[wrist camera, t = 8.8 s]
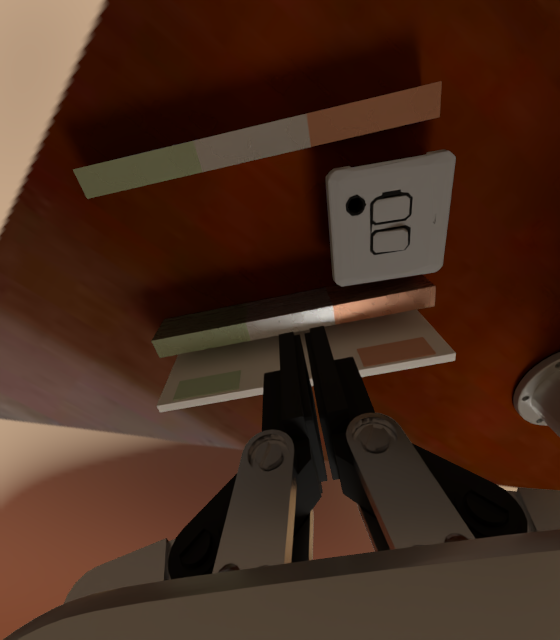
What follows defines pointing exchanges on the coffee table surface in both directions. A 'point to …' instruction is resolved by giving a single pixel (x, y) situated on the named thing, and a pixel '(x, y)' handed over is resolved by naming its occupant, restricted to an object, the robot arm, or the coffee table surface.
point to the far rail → (292, 314)
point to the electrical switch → (389, 217)
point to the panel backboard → (263, 356)
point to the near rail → (262, 140)
